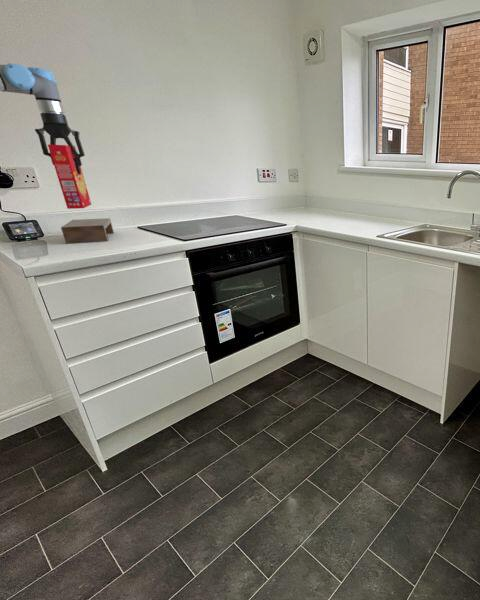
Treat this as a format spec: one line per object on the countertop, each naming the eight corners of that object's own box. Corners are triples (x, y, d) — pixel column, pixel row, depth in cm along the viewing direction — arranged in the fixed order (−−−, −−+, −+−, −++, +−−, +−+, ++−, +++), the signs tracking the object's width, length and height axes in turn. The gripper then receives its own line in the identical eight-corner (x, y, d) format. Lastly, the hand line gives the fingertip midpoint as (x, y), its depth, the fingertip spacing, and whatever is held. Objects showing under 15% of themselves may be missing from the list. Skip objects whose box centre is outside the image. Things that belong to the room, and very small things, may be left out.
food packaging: (83, 208, 151) (65, 145, 142) (67, 208, 148) (47, 144, 139) (91, 204, 163) (74, 146, 154) (76, 204, 160) (59, 145, 151)
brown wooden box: (66, 243, 149) (60, 227, 146) (77, 234, 166) (72, 219, 164) (107, 241, 156) (103, 225, 153) (114, 232, 173) (110, 218, 171)
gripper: (83, 116, 150) (99, 173, 158) (24, 112, 140) (43, 173, 149) (80, 114, 144) (96, 174, 152) (17, 110, 135) (38, 173, 143)
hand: (70, 173), depth 150 cm, fingers closed on food packaging, 5 cm apart
